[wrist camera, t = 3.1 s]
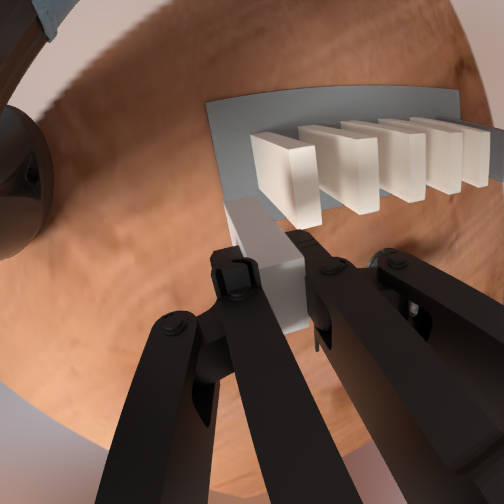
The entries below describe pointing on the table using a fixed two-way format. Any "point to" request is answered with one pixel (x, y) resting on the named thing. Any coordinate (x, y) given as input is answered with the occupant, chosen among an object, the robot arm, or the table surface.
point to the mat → (308, 113)
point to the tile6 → (500, 162)
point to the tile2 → (346, 166)
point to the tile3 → (397, 158)
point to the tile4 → (438, 154)
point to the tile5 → (468, 150)
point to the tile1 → (288, 177)
